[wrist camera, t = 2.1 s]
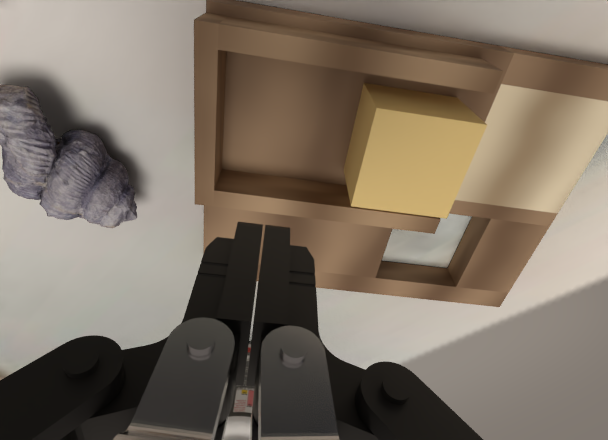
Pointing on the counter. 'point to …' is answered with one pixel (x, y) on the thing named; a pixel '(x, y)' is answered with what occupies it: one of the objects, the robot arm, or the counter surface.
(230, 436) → the pill bottle
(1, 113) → the seashell
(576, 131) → the wooden compartment tray
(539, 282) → the counter surface
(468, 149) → the block
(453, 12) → the counter surface
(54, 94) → the counter surface
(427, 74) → the cubby
